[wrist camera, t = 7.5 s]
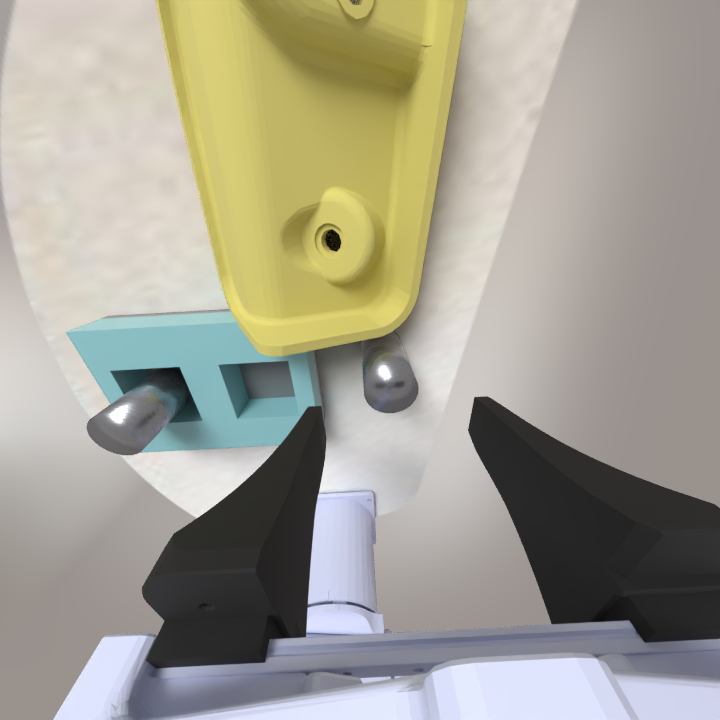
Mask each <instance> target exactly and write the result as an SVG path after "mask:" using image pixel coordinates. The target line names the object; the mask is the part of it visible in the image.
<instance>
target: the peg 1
mask: <svg viewBox="0 0 720 720" xmlns="http://www.w3.org/2000/svg"><path fill="white" fill-rule="evenodd" d="M192 398H193V397H192V395H191V392H190V390H189V388H188V385H187V383H186V381H185V378H184V376H183V374H182V371H181V369H180V367H169V368H160V369H159V370H158V371H156V372H155V373H154V374H152V375H151V376H149V377H148V378H147V379H145V380H144V381H142V382H141V383H140V384H138V385H137V386H136V387H134V388H133V389H131V390H130V391H129V392H127V393H126V394H124V395H123V396H122V397H120V398H119V399H118V400H116V401H115V402H113V403H112V404H111V405H109V406H108V407H107V408H105V409H104V410H102V411H101V412H100V413H98V414H97V415H95V416H94V417H93V418H91V419H90V420H89V421H88V423H87V431H88V434H89V436H90V437H91V438H92V440H93V441H94V442H95V443H97V444H98V445H99V446H101V447H102V448H104V449H106V450H108V451H110V452H113V453H116V454H120V455H134V454H138V453H140V452H141V451H142V450H143V449H144V448H145V447H146V446H147V445H148V444H149V443H150V442H151V441H152V440H153V439H154V438H155V437H156V436H157V435H158V434H159V433H160V432H161V431H162V430H163V428H164V427H165V426H166V425H167V424H168V423H169V422H170V421H171V420H172V419H173V418H174V417H175V416H176V415H177V414H178V413H179V412H180V411H181V410H182V409H183V408H184V407H185V406H186V405H187V403H188V402H189V401H190V400H191V399H192Z"/></svg>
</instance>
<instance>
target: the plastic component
mask: <svg viewBox="0 0 720 720" xmlns="http://www.w3.org/2000/svg"><path fill="white" fill-rule="evenodd" d="M156 5H157V10H158V15H159V20H160V25H161V30H162V34H163V39H164V44H165V49H166V54H167V58H168V63H169V67H170V72H171V77H172V81H173V86H174V90H175V95H176V99H177V104H178V108H179V113H180V117H181V122H182V126H183V130H184V134H185V138H186V142H187V146H188V151H189V155H190V159H191V163H192V167H193V171H194V175H195V180H196V184H197V188H198V192H199V196H200V200H201V205H202V209H203V213H204V217H205V221H206V225H207V229H208V234H209V238H210V242H211V246H212V250H213V254H214V258H215V263H216V267H217V271H218V275H219V279H220V282H221V286H222V289H223V292H224V295H225V298H226V301H227V304H228V306H229V309H230V311H231V314H232V316H233V318H234V319H235V320H236V321H237V322H238V325H239V327H240V329H241V330H242V331H243V333H244V334H245V335H246V337H247V338H248V339H249V341H250V342H251V343H252V345H253V346H254V348H255V349H256V350H257V351H258V352H259V353H261V354H263V355H267V356H287V355H292V354H297V353H302V352H307V351H312V350H317V349H322V348H327V347H332V346H337V345H342V344H347V343H352V342H357V341H362V340H367V339H372V338H377V337H382V336H384V335H386V334H389V333H391V332H392V331H394V330H395V329H397V328H398V327H399V326H400V325H401V324H402V323H403V322H404V321H405V320H406V319H407V317H408V316H409V314H410V313H411V311H412V309H413V307H414V305H415V303H416V300H417V297H418V293H419V287H420V281H421V275H422V269H423V263H424V257H425V251H426V245H427V239H428V233H429V227H430V221H431V216H432V210H433V204H434V198H435V192H436V186H437V180H438V174H439V168H440V162H441V156H442V150H443V144H444V138H445V132H446V126H447V120H448V114H449V108H450V102H451V96H452V90H453V84H454V78H455V72H456V66H457V60H458V54H459V48H460V42H461V37H462V31H463V25H464V19H465V12H466V6H467V0H359V2H358V5H353V4H352V3H351V1H350V0H156ZM330 229H333V230H334V231H336V232H337V233H338V234H339V236H340V239H341V246H340V249H339V250H338V251H337V252H335V251H332V250H330V248H329V247H328V246H327V244H326V240H325V239H326V234H327V232H328V231H329V230H330Z"/></svg>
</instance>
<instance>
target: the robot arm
mask: <svg viewBox="0 0 720 720" xmlns="http://www.w3.org/2000/svg"><path fill="white" fill-rule="evenodd" d="M468 431H469V434H470V436H471V439H472V442H473V444H474V447H475V449H476V451H477V453H478V455H479V457H480V459H481V461H482V462H483V464H484V466H485V468H486V470H487V471H488V473H489V474H490V477H491V478H492V480H493V482H494V484H495V486H496V488H497V489H498V491H499V493H500V495H501V497H502V499H503V501H504V502H505V505H506V507H507V509H508V511H509V514H510V516H511V518H512V520H513V523H514V525H515V527H516V530H517V532H518V534H519V537H520V539H521V542H522V544H523V546H524V549H525V552H526V554H527V557H528V559H529V562H530V565H531V567H532V570H533V572H534V575H535V578H536V580H537V583H538V586H539V589H540V591H541V594H542V597H543V600H544V603H545V606H546V609H547V611H548V614H549V617H550V620H551V623H552V624H551V625H533V626H532V625H530V626H513V627H512V626H511V627H493V628H475V629H474V628H473V629H454V630H435V631H417V632H397V633H392V632H391V631H390V630H388V629H384V618H383V614H378V613H377V603H376V586H375V570H374V554H373V544H375V543H376V535H375V534H376V533H375V508H374V493H373V492H371V491H364V492H346V493H327V494H319V488H320V483H321V477H322V472H323V467H324V461H325V451H326V433H325V426H324V420H323V413H322V407H321V406H308V407H307V409H306V410H305V412H304V413H303V415H302V416H301V418H300V419H299V420H298V422H297V423H296V425H295V426H294V427H293V429H292V430H291V431H290V433H289V434H288V435H287V437H286V438H285V439H284V441H283V442H282V443H281V444H280V445H279V447H278V448H277V449H276V450H275V451H274V453H273V454H272V455H271V456H270V457H269V458H268V459H267V460H266V461H265V462H264V463H263V464H262V465H261V466H260V467H259V468H258V469H257V470H256V471H255V472H254V473H253V474H252V475H251V476H250V477H249V478H248V479H247V480H246V481H245V482H243V483H242V484H241V485H240V486H239V487H238V488H237V489H235V490H234V491H233V492H232V493H231V494H229V495H228V496H227V497H225V498H224V499H223V500H222V501H220V502H219V503H218V504H216V505H215V506H214V507H212V508H211V509H210V510H208V511H207V512H205V513H204V514H203V515H201V516H200V517H198V518H197V519H195V520H194V521H192V522H191V523H190V524H188V525H187V526H185V527H183V528H182V529H181V530H179V531H177V532H176V533H174V534H173V536H172V538H171V539H170V541H169V542H168V544H167V545H166V547H165V548H164V550H163V552H162V554H161V555H160V557H159V559H158V561H157V562H156V564H155V566H154V567H153V569H152V571H151V573H150V574H149V576H148V578H147V580H146V581H145V583H144V585H143V587H142V594H143V597H144V599H145V600H146V602H147V603H148V604H149V605H150V606H151V607H152V608H153V609H154V610H155V611H156V612H157V613H158V614H159V615H160V616H161V617H162V618H163V619H164V620H165V621H164V623H163V625H162V628H161V630H160V632H159V634H158V636H156V635H153V634H149V633H134V634H133V633H132V634H113V635H107V636H105V637H103V638H102V640H101V642H100V643H99V645H98V646H97V648H96V650H95V652H94V653H93V655H92V656H91V658H90V660H89V661H88V663H87V665H86V666H85V668H84V670H83V671H82V673H81V675H80V676H79V678H78V679H77V681H76V683H75V685H74V686H73V688H72V690H71V691H70V693H69V694H68V696H67V698H66V699H65V701H64V703H63V704H62V706H61V708H60V709H59V711H58V712H57V714H56V716H55V718H54V719H53V720H720V508H719V507H717V506H716V505H715V504H712V503H709V502H706V501H703V500H700V499H697V498H694V497H691V496H688V495H685V494H682V493H679V492H676V491H673V490H670V489H667V488H664V487H662V486H659V485H656V484H654V483H651V482H649V481H646V480H643V479H641V478H638V477H635V476H633V475H630V474H628V473H626V472H623V471H621V470H618V469H616V468H614V467H611V466H609V465H607V464H605V463H602V462H600V461H598V460H596V459H594V458H591V457H589V456H587V455H585V454H583V453H581V452H579V451H577V450H575V449H573V448H571V447H569V446H567V445H565V444H564V443H562V442H560V441H558V440H556V439H555V438H553V437H551V436H549V435H548V434H546V433H544V432H543V431H541V430H539V429H537V428H536V427H534V426H533V425H531V424H530V423H528V422H526V421H525V420H523V419H521V418H520V417H519V416H517V415H516V414H514V413H512V412H511V411H510V410H508V409H506V408H505V407H503V406H502V405H500V404H499V403H497V402H496V401H494V400H493V399H491V398H489V397H475V398H474V403H473V408H472V414H471V419H470V423H469V429H468Z"/></svg>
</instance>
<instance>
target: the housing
mask: <svg viewBox="0 0 720 720" xmlns="http://www.w3.org/2000/svg"><path fill="white" fill-rule="evenodd" d="M66 333H67V335H68V336H69V338H70V340H71V341H72V343H73V345H74V346H75V348H76V349H77V351H78V353H79V354H80V356H81V357H82V359H83V361H84V362H85V364H86V365H87V367H88V369H89V370H90V372H91V373H92V375H93V377H94V378H95V380H96V381H97V383H98V385H99V386H100V388H101V390H102V391H103V393H104V394H105V396H106V398H107V399H108V401H109V402H110V404H112V403H113V402H115V401H116V400H118V399H119V398H120V397H122V396H123V395H124V394H126V393H127V392H129V391H130V390H131V389H133V388H134V387H136V386H137V385H138V384H140V383H141V382H142V381H144V380H145V379H147V378H148V377H149V376H151V375H152V374H154V373H155V372H156V371H158V370H159V369H160V368H169V367H180V369H181V371H182V374H183V376H184V378H185V381H186V383H187V385H188V388H189V390H190V392H191V395H192V397H193V398H192V399H191V400H190V401H189V402H188V403H187V405H186V406H185V407H184V408H183V409H182V410H181V411H180V412H179V413H178V414H177V415H176V416H175V417H174V418H173V419H172V420H171V421H170V422H169V423H168V424H167V425H166V426H165V427H164V428H163V430H162V431H161V432H160V433H159V434H158V435H157V436H156V437H155V438H154V439H153V440H152V441H151V442H150V443H149V444H148V445H147V446H146V447H145V448H144V449H143V450H142V451H141V453H143V452H161V451H179V450H197V449H216V448H234V447H252V446H270V445H280V444H281V443H282V442H283V441H284V439H285V438H286V437H287V435H288V434H289V433H290V431H291V430H292V429H293V427H294V426H295V425H296V423H297V422H298V420H299V419H300V418H301V416H302V415H303V413H304V412H305V410H306V409H307V407H308V406H321V407H322V413H323V420H325V414H324V407H323V400H322V394H321V387H320V380H319V373H318V366H317V359H316V352H315V350H312V351H307V352H302V353H297V354H292V355H287V356H267V355H263V354H261V353H259V352H258V351H257V350H256V349H255V348H254V346H253V345H252V343H251V342H250V341H249V339H248V338H247V337H246V335H245V334H244V333H243V331H242V330H241V329H240V327H239V325H238V322H237V321H236V320H235V319H234V318H233V316H232V314H231V311H230V309H225V310H208V311H190V312H172V313H155V314H137V315H120V316H107V317H105V318H102V319H99V320H96V321H94V322H91V323H88V324H86V325H83V326H80V327H78V328H75V329H72V330H70V331H67V332H66Z"/></svg>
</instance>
